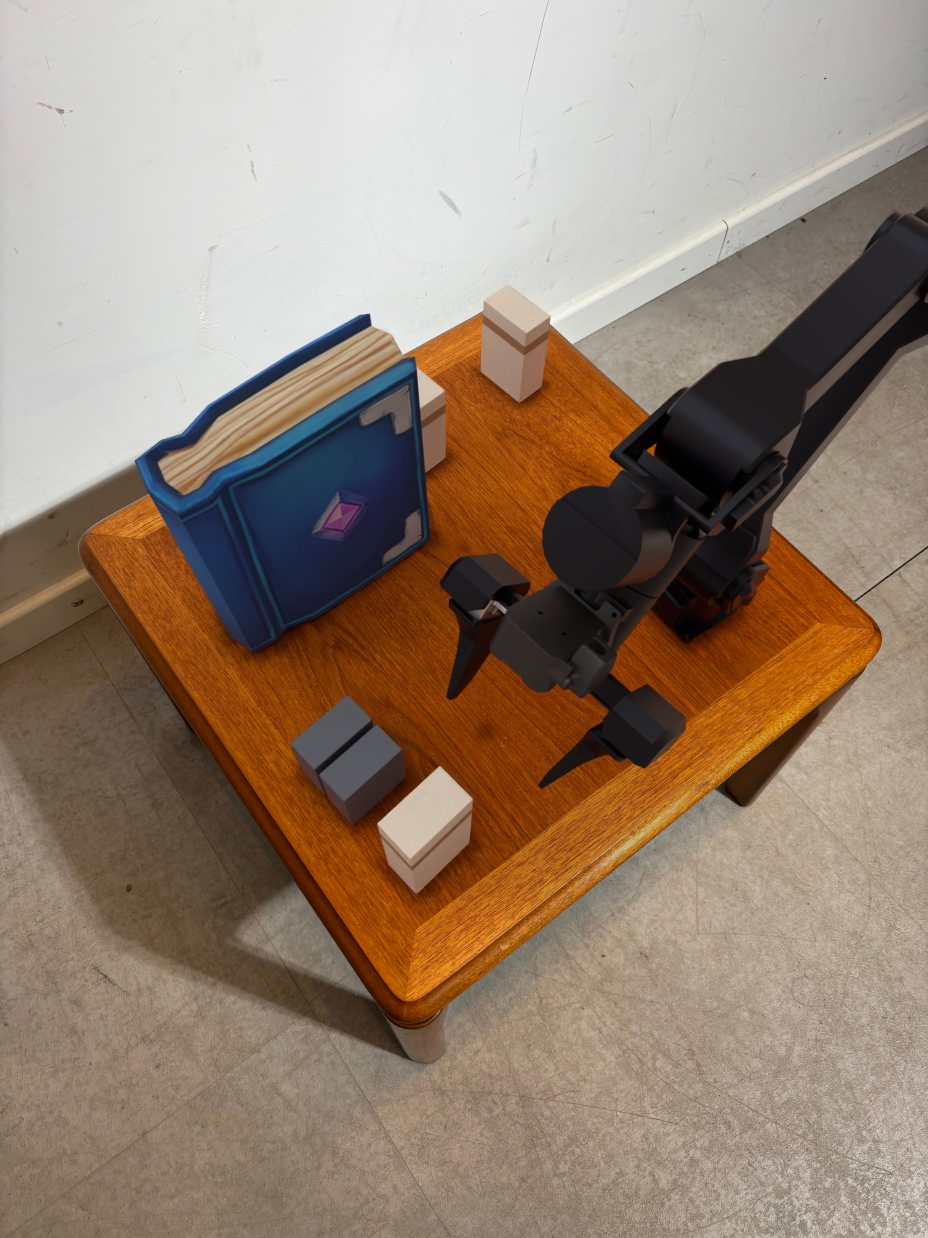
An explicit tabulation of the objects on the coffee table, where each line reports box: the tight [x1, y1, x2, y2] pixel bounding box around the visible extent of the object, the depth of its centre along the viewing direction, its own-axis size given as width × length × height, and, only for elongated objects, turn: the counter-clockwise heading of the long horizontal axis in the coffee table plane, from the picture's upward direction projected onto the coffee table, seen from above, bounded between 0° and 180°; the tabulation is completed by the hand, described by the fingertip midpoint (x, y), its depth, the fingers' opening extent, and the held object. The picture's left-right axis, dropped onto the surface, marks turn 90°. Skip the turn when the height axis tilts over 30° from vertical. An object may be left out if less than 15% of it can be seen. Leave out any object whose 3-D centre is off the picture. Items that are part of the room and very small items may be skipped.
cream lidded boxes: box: [404, 283, 552, 474], centre depth 90 cm, size 6×17×10 cm, turn 133°
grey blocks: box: [289, 694, 407, 826], centre depth 73 cm, size 6×6×7 cm
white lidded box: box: [376, 765, 474, 895], centre depth 68 cm, size 6×3×12 cm, turn 134°
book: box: [134, 313, 432, 654], centre depth 74 cm, size 22×7×25 cm, turn 129°
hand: (495, 741), depth 64 cm, fingers open, 9 cm apart
